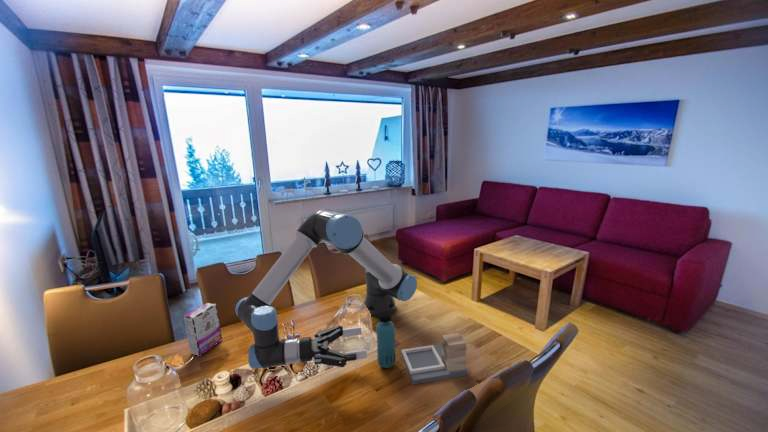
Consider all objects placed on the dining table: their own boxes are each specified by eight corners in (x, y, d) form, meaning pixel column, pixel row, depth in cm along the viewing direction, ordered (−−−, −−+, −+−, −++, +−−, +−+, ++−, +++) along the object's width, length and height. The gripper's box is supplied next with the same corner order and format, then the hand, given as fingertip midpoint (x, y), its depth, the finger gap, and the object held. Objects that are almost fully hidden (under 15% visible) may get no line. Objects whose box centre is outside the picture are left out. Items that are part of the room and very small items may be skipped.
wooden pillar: (441, 360, 116) (442, 335, 114) (458, 358, 117) (458, 332, 115) (448, 372, 110) (448, 345, 108) (465, 369, 111) (466, 342, 109)
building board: (401, 354, 122) (400, 348, 122) (449, 346, 126) (449, 340, 125) (413, 384, 107) (413, 377, 107) (467, 375, 111) (468, 368, 110)
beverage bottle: (385, 374, 112) (383, 321, 108) (373, 364, 117) (371, 313, 113) (399, 366, 116) (398, 314, 112) (387, 357, 121) (386, 307, 117)
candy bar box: (213, 338, 136) (207, 302, 132) (222, 340, 134) (217, 303, 131) (189, 355, 125) (182, 315, 122) (199, 357, 124) (192, 317, 120)
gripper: (302, 338, 121) (359, 331, 125) (298, 386, 97) (369, 375, 101) (300, 320, 120) (358, 313, 124) (296, 364, 96) (368, 354, 100)
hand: (363, 341), depth 112 cm, fingers open, 13 cm apart
